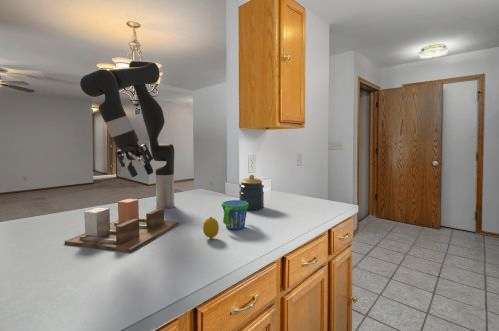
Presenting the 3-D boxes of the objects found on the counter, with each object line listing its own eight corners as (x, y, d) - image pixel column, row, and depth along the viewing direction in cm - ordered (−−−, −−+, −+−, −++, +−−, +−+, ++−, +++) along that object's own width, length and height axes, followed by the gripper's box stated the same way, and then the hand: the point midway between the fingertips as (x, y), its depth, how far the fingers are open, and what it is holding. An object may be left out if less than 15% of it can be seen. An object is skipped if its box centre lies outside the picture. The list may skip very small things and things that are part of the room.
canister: (268, 207, 144) (268, 174, 142) (255, 212, 133) (255, 177, 131) (247, 204, 150) (247, 172, 149) (234, 209, 140) (234, 175, 138)
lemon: (206, 242, 93) (205, 220, 92) (201, 237, 98) (201, 215, 97) (221, 240, 96) (221, 217, 95) (215, 235, 101) (215, 214, 100)
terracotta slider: (118, 223, 109) (117, 201, 108) (128, 219, 115) (128, 198, 114) (129, 224, 108) (128, 202, 107) (138, 220, 114) (138, 199, 113)
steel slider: (85, 237, 94) (84, 211, 93) (99, 231, 99) (97, 207, 99) (97, 238, 92) (96, 212, 92) (110, 232, 98) (109, 208, 97)
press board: (64, 244, 91) (63, 223, 90) (126, 219, 120) (125, 203, 119) (131, 252, 85) (130, 230, 84) (179, 224, 113) (178, 207, 113)
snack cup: (235, 235, 100) (235, 208, 100) (212, 230, 106) (212, 205, 105) (255, 224, 114) (256, 200, 113) (235, 220, 119) (235, 197, 118)
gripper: (144, 124, 90) (163, 168, 95) (118, 132, 97) (137, 172, 103) (126, 131, 84) (148, 178, 89) (100, 139, 91) (121, 181, 96)
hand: (142, 175), depth 96 cm, fingers open, 8 cm apart
